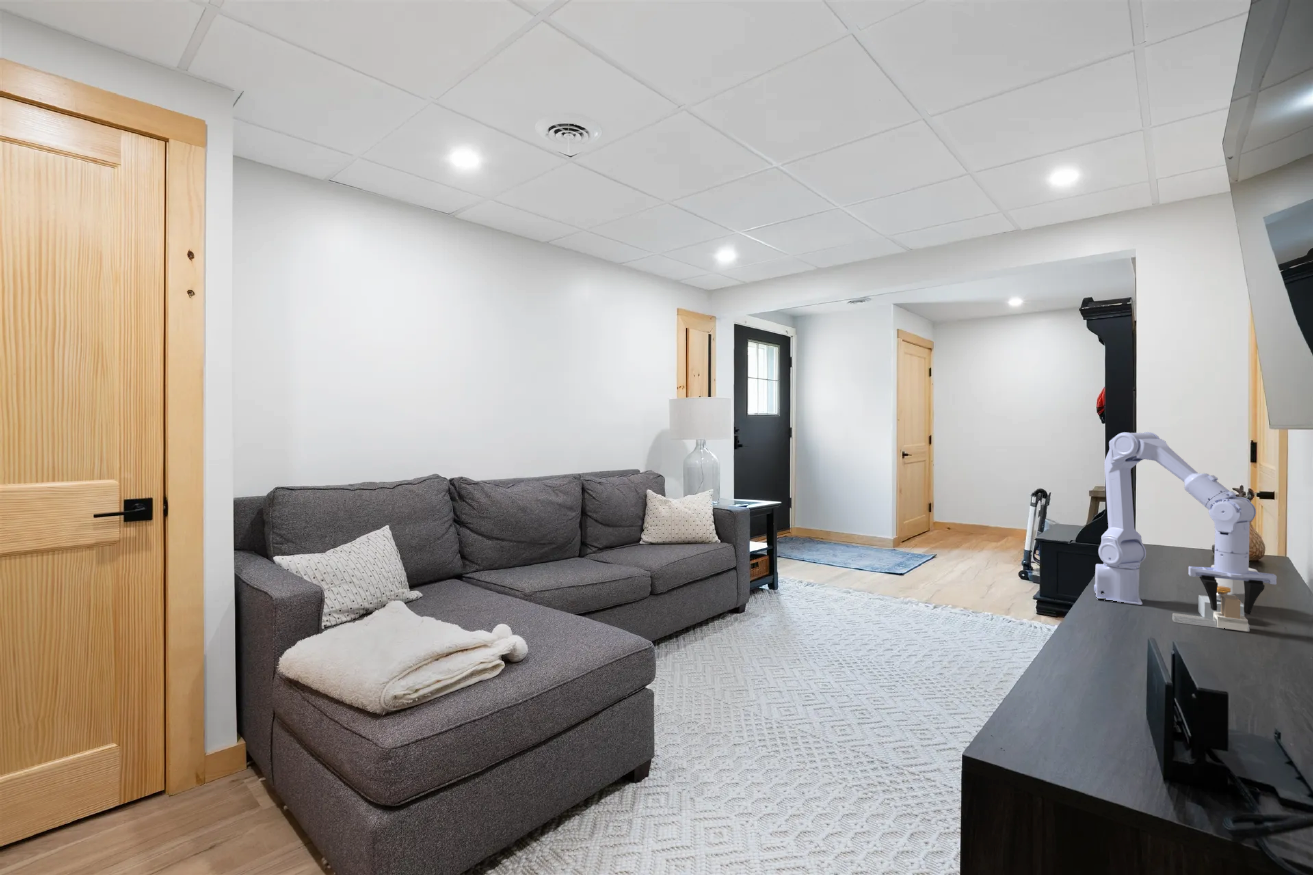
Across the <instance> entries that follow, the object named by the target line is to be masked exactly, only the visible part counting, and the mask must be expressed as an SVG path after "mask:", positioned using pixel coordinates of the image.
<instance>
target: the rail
mask: <svg viewBox="0 0 1313 875" xmlns="http://www.w3.org/2000/svg"><path fill="white" fill-rule="evenodd" d="M1171 620H1172V621H1173V622H1174V623H1179V624H1187V625H1192V626H1193V625H1194V626H1202V627H1209V628H1216V629H1217V628H1218V627H1217V619H1216V618H1209V617H1202V615H1200V616H1199V615H1198V616H1197V615H1192V614H1191V615H1190V614H1184V613H1183V614H1182V613H1177V612H1172V616H1171ZM1218 629H1219V628H1218ZM1230 630H1233V629H1230ZM1233 631H1234V630H1233ZM1238 631H1240V632H1242V631H1241V630H1238ZM1246 632H1248V633H1250V624H1249V623H1248V631H1246Z"/></svg>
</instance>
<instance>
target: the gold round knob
mask: <svg viewBox="0 0 1313 875" xmlns="http://www.w3.org/2000/svg"><path fill="white" fill-rule="evenodd" d="M1230 592H1231V588H1229V587H1225V586H1218V587H1217V602H1221V594H1222V595H1228V593H1230Z"/></svg>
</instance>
